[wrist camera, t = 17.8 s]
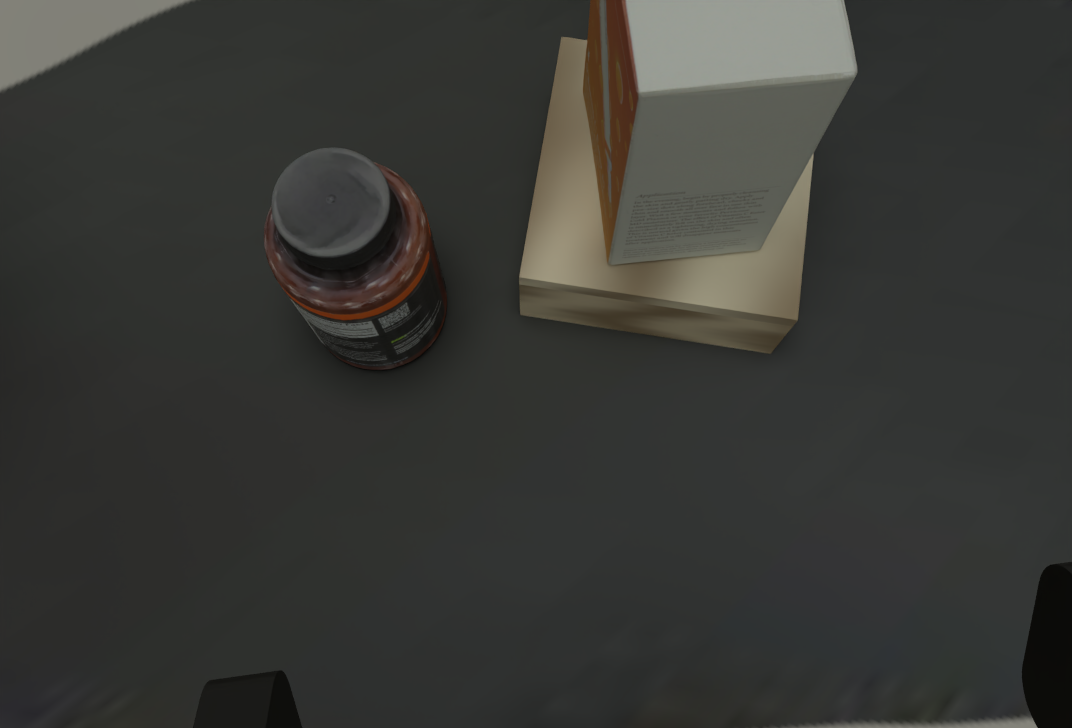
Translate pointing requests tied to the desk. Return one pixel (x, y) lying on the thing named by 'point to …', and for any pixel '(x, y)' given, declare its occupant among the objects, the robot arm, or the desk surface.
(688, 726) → the desk surface
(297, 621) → the desk surface
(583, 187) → the birch riser
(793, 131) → the small box
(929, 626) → the desk surface
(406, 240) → the supplement bottle
